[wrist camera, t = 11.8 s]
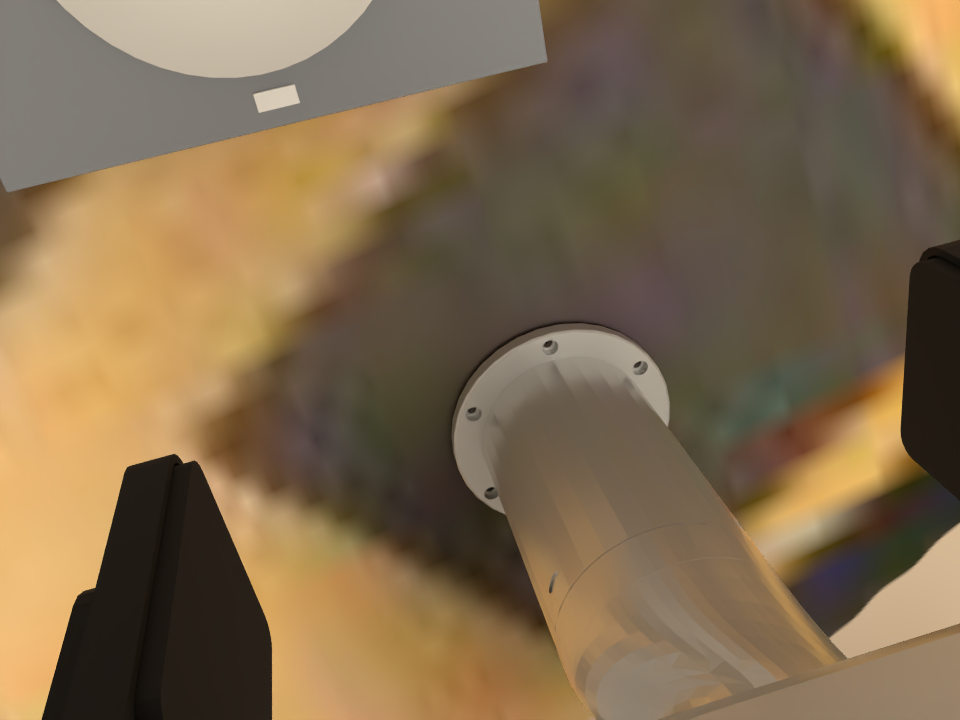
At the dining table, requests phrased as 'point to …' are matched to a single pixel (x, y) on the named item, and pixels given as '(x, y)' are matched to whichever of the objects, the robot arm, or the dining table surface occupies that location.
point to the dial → (218, 31)
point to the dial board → (227, 82)
